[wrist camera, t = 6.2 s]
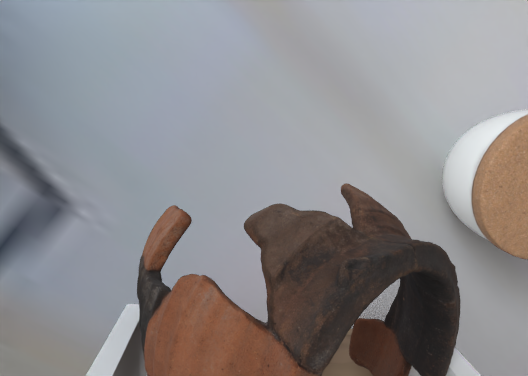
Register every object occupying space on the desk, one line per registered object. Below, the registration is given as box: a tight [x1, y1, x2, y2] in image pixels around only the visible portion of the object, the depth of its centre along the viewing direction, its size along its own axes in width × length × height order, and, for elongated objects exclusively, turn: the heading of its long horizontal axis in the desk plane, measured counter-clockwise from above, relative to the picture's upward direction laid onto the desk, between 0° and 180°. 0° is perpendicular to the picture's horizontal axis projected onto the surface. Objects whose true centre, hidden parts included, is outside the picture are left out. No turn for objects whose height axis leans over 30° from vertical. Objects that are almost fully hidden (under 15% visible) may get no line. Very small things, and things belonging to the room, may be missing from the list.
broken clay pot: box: [137, 184, 460, 376], centre depth 11 cm, size 12×10×8 cm
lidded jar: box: [442, 109, 528, 259], centre depth 25 cm, size 11×11×9 cm
